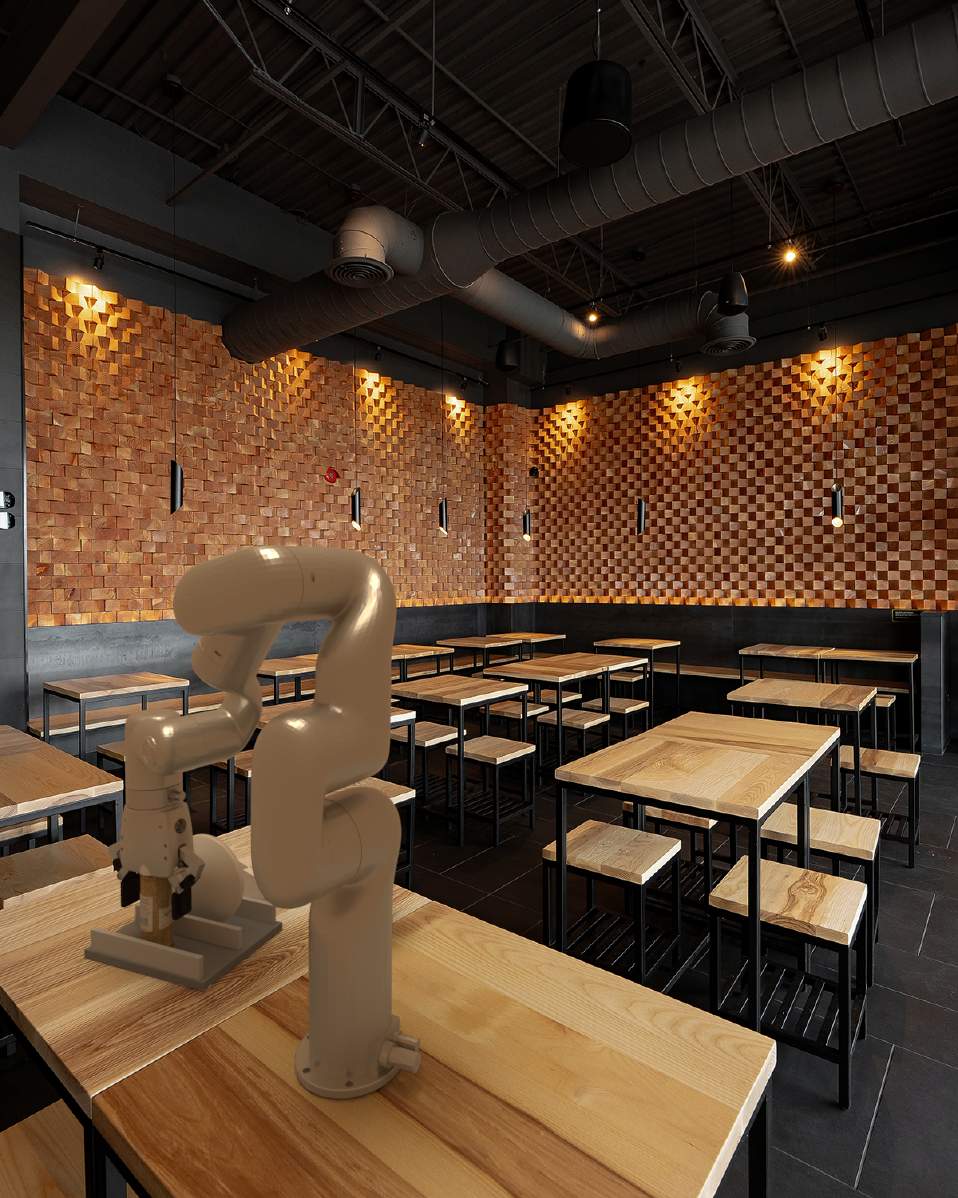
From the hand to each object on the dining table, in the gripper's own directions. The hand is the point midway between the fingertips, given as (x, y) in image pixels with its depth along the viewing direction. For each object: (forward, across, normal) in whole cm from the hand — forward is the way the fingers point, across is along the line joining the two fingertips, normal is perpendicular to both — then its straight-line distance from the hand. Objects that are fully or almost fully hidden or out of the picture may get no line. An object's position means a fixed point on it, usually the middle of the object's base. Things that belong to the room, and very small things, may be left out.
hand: (156, 909), depth 100 cm
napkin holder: (+7, -2, -21) cm, 22 cm away
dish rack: (+7, -2, -4) cm, 8 cm away
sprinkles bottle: (+6, 0, 0) cm, 6 cm away
